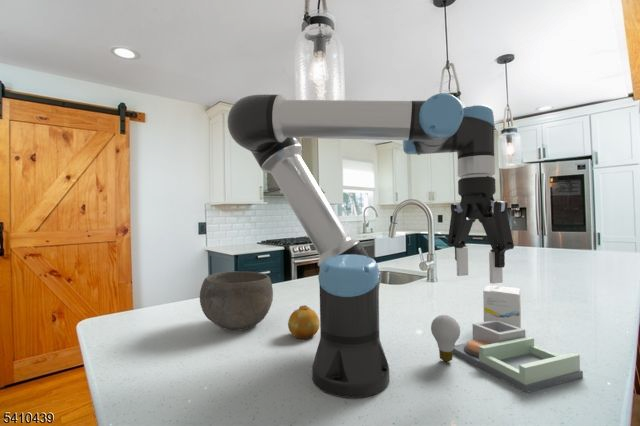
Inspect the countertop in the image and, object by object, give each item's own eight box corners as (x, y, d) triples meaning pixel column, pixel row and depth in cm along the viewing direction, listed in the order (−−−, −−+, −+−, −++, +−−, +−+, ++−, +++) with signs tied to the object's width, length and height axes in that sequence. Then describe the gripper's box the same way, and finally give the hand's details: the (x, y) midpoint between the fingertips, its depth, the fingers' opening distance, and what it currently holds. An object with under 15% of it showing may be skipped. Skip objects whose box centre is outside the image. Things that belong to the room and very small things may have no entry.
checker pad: (480, 356, 69) (480, 350, 69) (462, 347, 74) (462, 341, 74) (499, 352, 70) (498, 346, 70) (479, 343, 75) (479, 338, 75)
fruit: (308, 318, 94) (299, 298, 91) (329, 327, 88) (319, 306, 85) (289, 339, 89) (278, 318, 86) (309, 350, 83) (298, 328, 80)
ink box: (521, 341, 81) (520, 293, 81) (483, 334, 85) (482, 290, 85) (521, 330, 88) (520, 287, 88) (486, 325, 93) (485, 284, 93)
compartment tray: (526, 392, 57) (525, 361, 57) (449, 351, 75) (449, 327, 75) (582, 377, 62) (582, 348, 62) (498, 341, 80) (498, 319, 80)
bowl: (287, 324, 96) (286, 273, 96) (224, 345, 81) (223, 285, 81) (247, 311, 110) (246, 267, 111) (187, 327, 95) (186, 276, 95)
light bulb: (463, 369, 67) (462, 320, 67) (433, 367, 68) (432, 319, 68) (457, 356, 72) (456, 312, 72) (430, 355, 73) (429, 310, 74)
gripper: (534, 171, 64) (537, 286, 63) (454, 182, 84) (456, 270, 84) (505, 170, 61) (508, 290, 61) (430, 182, 81) (432, 272, 81)
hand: (478, 278), depth 72 cm, fingers open, 9 cm apart
